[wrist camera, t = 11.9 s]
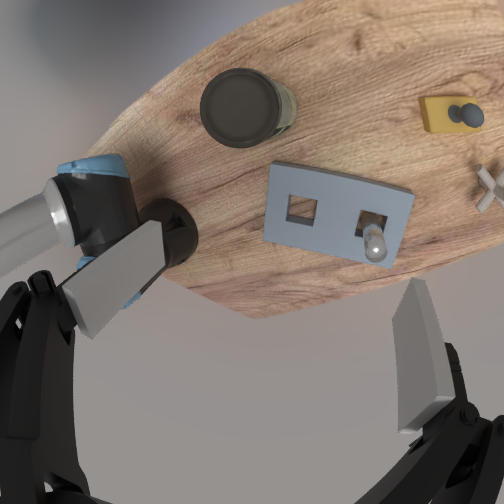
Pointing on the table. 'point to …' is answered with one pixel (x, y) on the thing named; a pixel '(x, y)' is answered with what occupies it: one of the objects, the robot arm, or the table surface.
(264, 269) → the table surface
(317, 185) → the socket board
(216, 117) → the coffee can
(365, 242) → the pin
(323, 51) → the table surface
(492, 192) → the pipe connector
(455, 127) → the rubber stamp
